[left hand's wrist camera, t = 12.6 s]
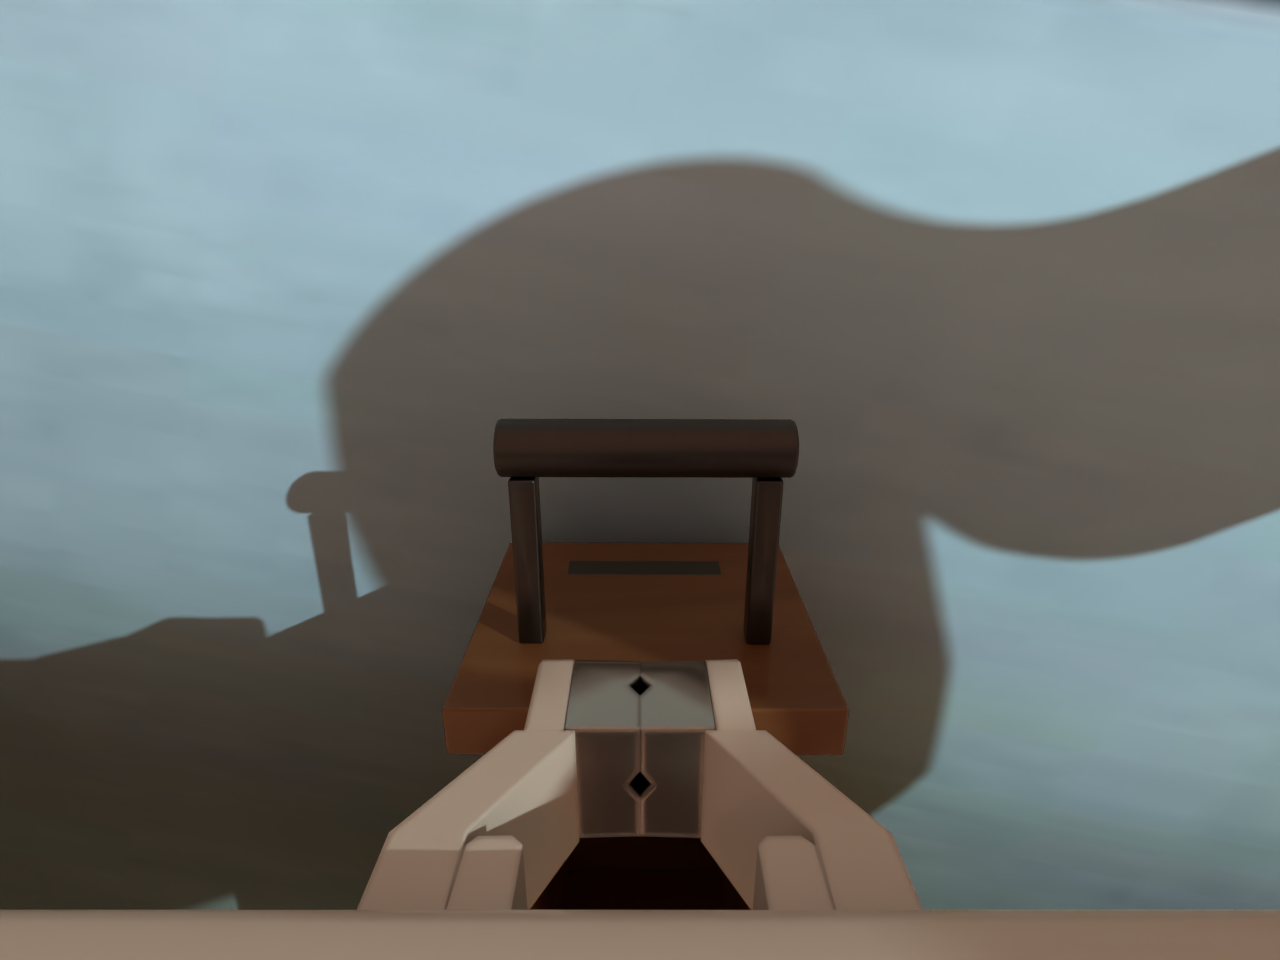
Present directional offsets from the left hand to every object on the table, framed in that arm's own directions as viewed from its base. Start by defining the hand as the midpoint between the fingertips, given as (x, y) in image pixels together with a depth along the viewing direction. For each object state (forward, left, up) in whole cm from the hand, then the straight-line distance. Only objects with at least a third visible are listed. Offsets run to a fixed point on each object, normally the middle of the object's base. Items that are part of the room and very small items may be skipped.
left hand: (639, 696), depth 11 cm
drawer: (+6, +1, -11) cm, 13 cm away
